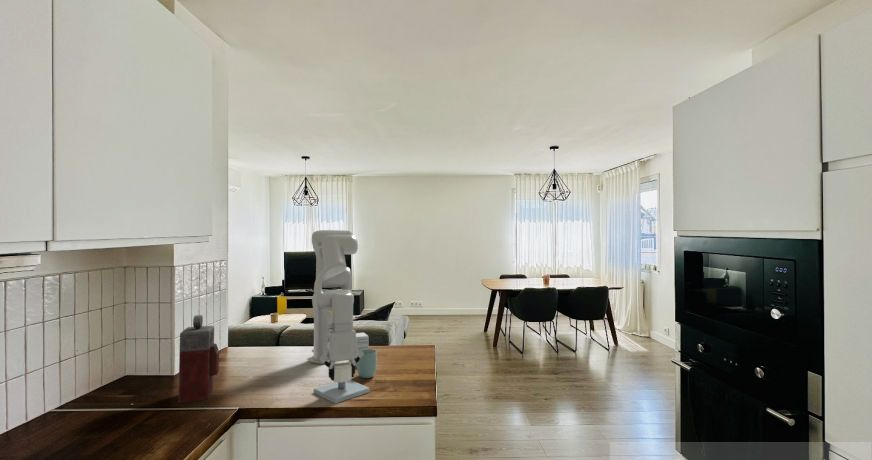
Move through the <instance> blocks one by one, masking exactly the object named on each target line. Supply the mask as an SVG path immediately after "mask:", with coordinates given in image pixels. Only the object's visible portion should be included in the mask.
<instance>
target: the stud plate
mask: <svg viewBox="0 0 872 460" xmlns="http://www.w3.org/2000/svg"><path fill="white" fill-rule="evenodd" d="M313 393H314V394H316V395H318V396H319V397H322V398H324V399H326V400H327V401H329V402H331V403H333V404H338V403H341V402H344V401H347V400H350V399H354V398H357V397H359V396H362V395H364V394H369V393H370V387H369V386H366V385H364V384H361V383H359V382H357V381H354V380H352V379H351V380H349V381H347V382H341V383H340V382H334V381H333V382H331V383H328V384H324V385H321V386H316V387H314V388H313Z"/></svg>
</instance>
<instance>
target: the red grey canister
mask: <svg viewBox="0 0 872 460" xmlns="http://www.w3.org/2000/svg"><path fill="white" fill-rule="evenodd" d="M203 322H204V321H203V315H202V314H201V315H200V314H199V315H198V314H196V315H194V316H193V320H192V326H188V327H186V328H185V329H184V330H183V331H181V332H180V334H179V362H178V363H179V364H178V365H179V366H178V399H177V400H178V402H177V403H180V404H181V403H188V402H197V401H204V400H209V399H210V397H211V395H212V393H213V391H214V376H217V375H218V374H219V371H220V370H219V369H220V350H219V347H218V345H217V343H215V326H214V325H203Z"/></svg>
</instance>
